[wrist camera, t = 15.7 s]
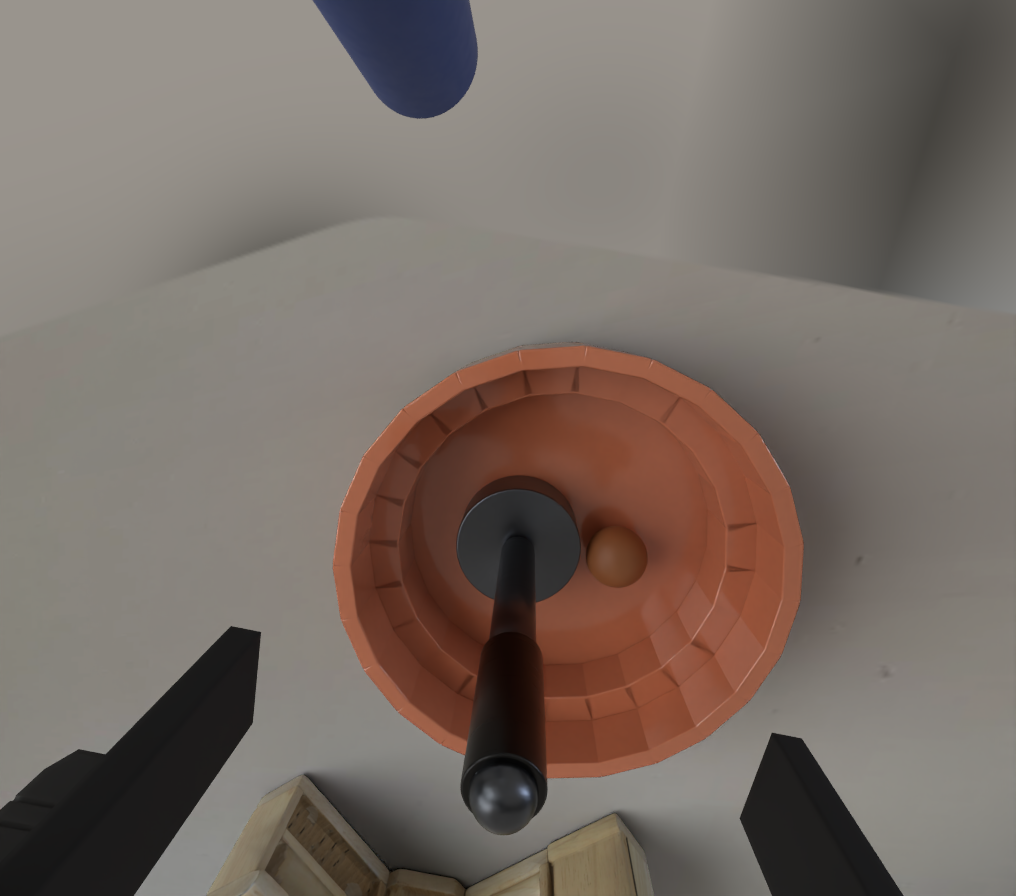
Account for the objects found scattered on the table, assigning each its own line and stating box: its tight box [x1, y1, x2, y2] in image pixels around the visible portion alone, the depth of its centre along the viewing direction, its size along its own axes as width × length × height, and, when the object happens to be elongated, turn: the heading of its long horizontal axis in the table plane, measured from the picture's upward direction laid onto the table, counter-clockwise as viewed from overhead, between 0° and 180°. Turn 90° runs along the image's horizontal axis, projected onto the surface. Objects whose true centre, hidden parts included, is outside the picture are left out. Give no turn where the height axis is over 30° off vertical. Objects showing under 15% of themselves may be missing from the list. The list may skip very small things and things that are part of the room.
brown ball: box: [586, 526, 648, 588], centre depth 26 cm, size 3×3×3 cm
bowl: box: [333, 342, 804, 778], centre depth 25 cm, size 20×20×6 cm
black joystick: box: [456, 475, 581, 835], centre depth 19 cm, size 6×6×17 cm
